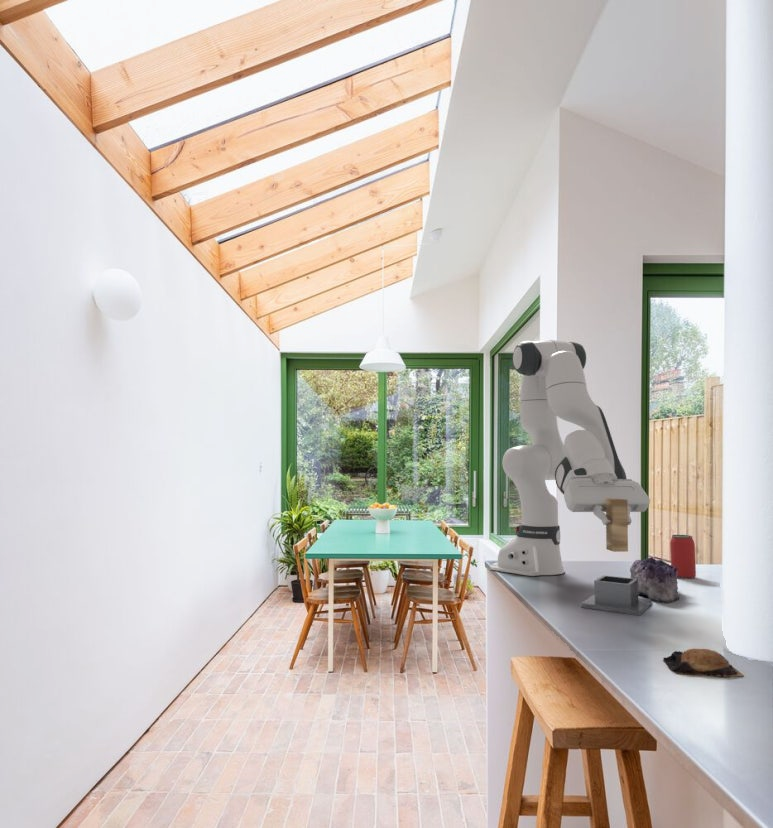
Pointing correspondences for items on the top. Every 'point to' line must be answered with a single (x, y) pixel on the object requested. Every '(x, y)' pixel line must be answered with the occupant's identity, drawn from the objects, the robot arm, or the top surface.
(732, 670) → the brown domed piece
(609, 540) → the wooden block
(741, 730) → the top surface
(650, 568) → the geode
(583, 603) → the grey open box
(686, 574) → the beer can
